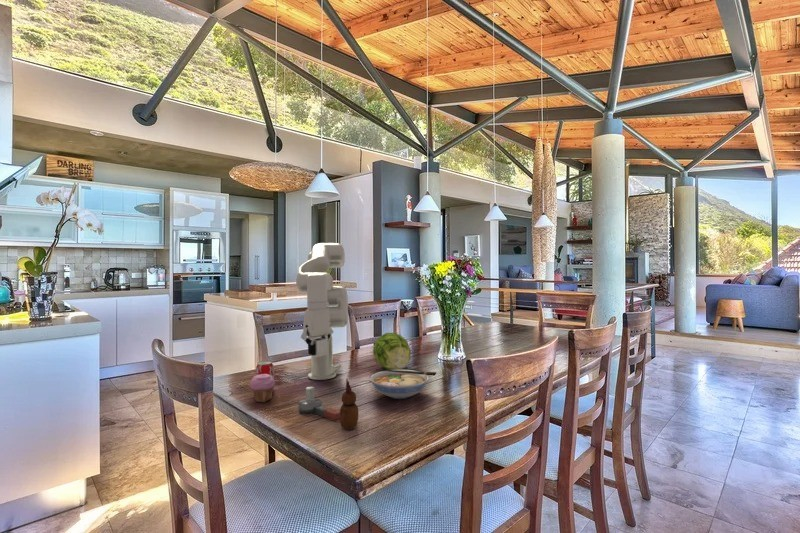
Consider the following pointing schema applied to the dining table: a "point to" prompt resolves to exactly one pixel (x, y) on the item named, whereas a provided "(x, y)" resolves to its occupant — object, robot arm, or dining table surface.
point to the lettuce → (392, 351)
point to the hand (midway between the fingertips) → (317, 353)
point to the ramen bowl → (400, 382)
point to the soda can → (265, 368)
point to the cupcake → (262, 387)
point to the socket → (320, 347)
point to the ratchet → (317, 406)
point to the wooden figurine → (348, 409)
